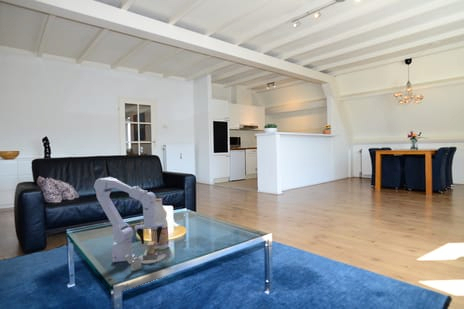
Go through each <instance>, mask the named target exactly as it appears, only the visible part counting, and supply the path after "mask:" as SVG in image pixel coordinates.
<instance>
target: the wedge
mask: <svg viewBox="0 0 464 309" xmlns="http://www.w3.org/2000/svg"><path fill="white" fill-rule="evenodd" d="M146 250H147V254H155V242H152V241H148V243H147V244H146Z"/></svg>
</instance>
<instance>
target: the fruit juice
mask: <svg viewBox="0 0 464 309" xmlns="http://www.w3.org/2000/svg"><path fill="white" fill-rule="evenodd" d="M154 206H155V223H164V225H165V227H164V228H163V229H162V231H161V234H160V239H159V243H157V228H153V229H150V236H151V238H150V239H151V241H150V242H155V249H159V250H160V251H163V250H165V249H168V248H169V247H168V246H169V244H170V243H169V242H170V241H169V230H168V229H169V226H168V220H167V215H168V214H167V211H166V209H165V208H164V205H163V199H162V197H161V198H160V197H159V198H156V200H155V202H154ZM167 247H168V248H167Z"/></svg>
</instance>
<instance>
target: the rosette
mask: <svg viewBox="0 0 464 309" xmlns="http://www.w3.org/2000/svg"><path fill="white" fill-rule="evenodd" d="M166 257H167V254H166V253H164V252H162V251H161V250H159V249H155V254H147V249H145V251H144V253H143V254H141V255H139V256H138V258H140V260H141V265H152V264H157V263H158V262H162V261H164V260H165V259H166Z"/></svg>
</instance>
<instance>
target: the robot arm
mask: <svg viewBox="0 0 464 309" xmlns="http://www.w3.org/2000/svg"><path fill="white" fill-rule="evenodd" d="M93 188H94V190H95V194H96V199H97V200H98V202H99V204H100V206H101V209H102V210H103V211H104V213H105V215H106V216H107V218H108V220H109V222H110V223H111V226H112V231H111V232H112V234H113V240H114V241H115V242H113V243H112V246H111V256H112V261H111V262H112V263H118V262H128V261H127V260H126V258H125V256H126V255H127V254H128V255H129V256H130V257H131V259H132V260H133V258H135V257H136V254H133V241H132V240H133V236H134V234H135V231H136V234H137V235H138V236H139V237H138V238H139V239H140V242H141V245H144V244H145V238H144V236H145V235H144V233H145V232H144V230H151V229H153V228H157V243H159V239H160V234H161V231H162V229H163V228H164V227H165V225H164V223H155V206H154V202H155V200H156V199H157V196H156V194H155V193H154V192H152V191H149V192H148V190H146V189H145V190H144V189H142V188H141V187H140V186H139V185H136V186H130V185H128V184H126V183H124V182H122V181H121V180H118V178H114V177H112V176H108V177H99V178H97V179H95V183H94V185H93ZM114 189H117V190H120V191H122V192H125V193H127V194H128V196H129V197H130V198H133V199H134V200H136V201H139V202H140V203H141V204H142V213H143V224H139V225H135V226H134V229H133V227H131V226H130V225H129V223H127V222H125V221H124V220H123V218H122V216H121V215H120V213H119V211H118V209H117V208H116V206H115V204H114V202H113V201H112V199H111V198H110V194H111V193H112V191H113V190H114Z"/></svg>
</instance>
